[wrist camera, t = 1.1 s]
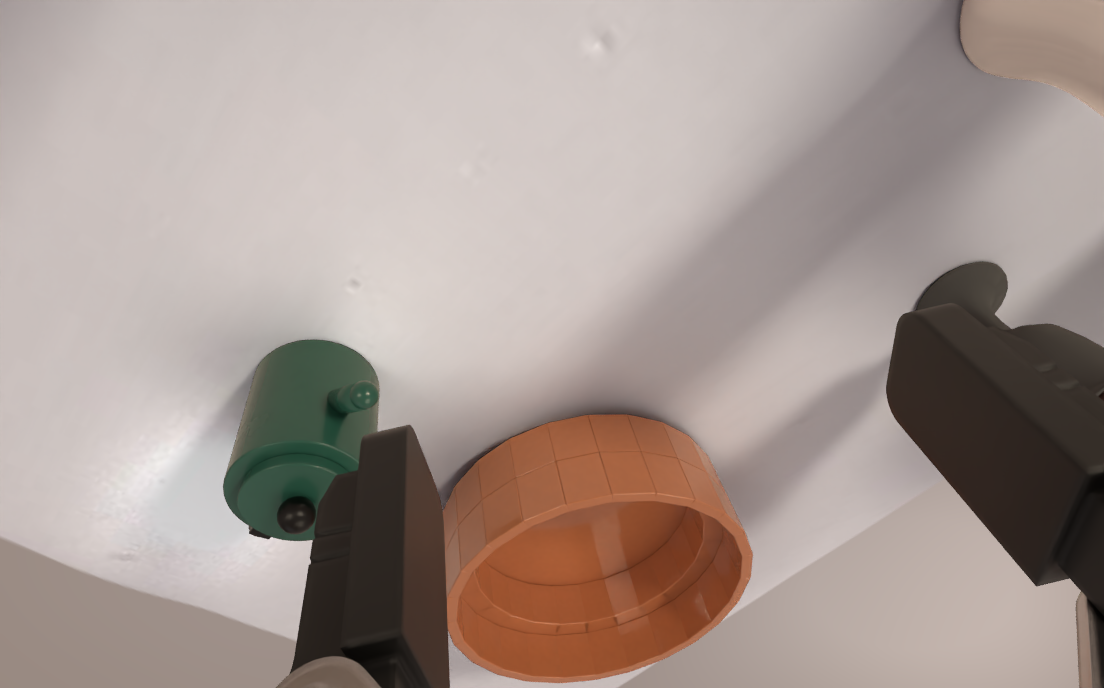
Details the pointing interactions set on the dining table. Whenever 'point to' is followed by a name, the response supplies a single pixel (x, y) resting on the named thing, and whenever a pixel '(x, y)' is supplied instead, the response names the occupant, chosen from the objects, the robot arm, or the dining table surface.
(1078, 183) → the dining table surface
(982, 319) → the sundae
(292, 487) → the kettle
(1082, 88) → the beer glass
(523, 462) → the bowl
